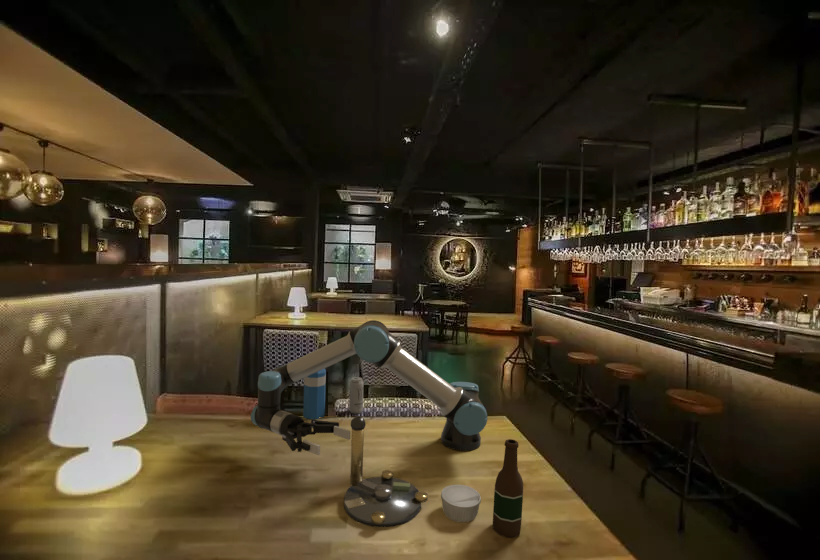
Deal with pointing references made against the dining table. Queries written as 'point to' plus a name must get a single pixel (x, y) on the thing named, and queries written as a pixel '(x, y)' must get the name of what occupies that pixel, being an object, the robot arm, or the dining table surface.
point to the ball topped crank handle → (356, 474)
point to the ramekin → (460, 502)
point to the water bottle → (314, 395)
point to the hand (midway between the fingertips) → (335, 442)
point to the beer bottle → (508, 494)
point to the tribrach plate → (384, 502)
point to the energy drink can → (356, 395)
